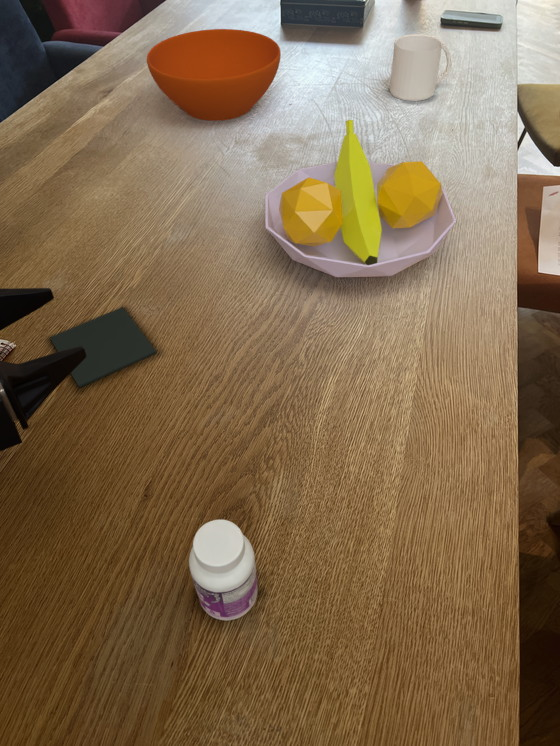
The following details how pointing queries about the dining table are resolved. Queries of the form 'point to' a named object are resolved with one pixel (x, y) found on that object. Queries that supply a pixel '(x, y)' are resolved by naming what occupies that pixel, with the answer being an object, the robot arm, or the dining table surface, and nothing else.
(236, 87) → the bowl
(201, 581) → the pill bottle
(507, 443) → the dining table surface
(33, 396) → the robot arm
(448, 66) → the mug
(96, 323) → the mat
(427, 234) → the fruit bowl
